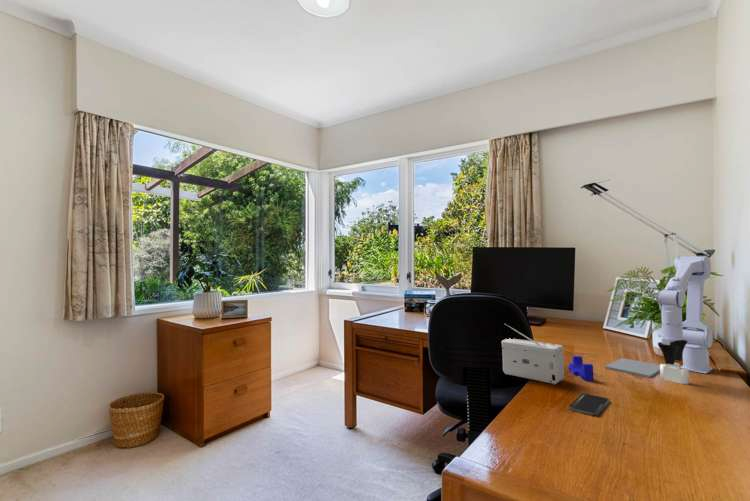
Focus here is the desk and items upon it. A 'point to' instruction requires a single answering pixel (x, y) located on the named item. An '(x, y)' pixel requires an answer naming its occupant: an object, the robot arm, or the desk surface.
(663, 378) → the connector plug
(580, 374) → the blue notched block
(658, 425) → the desk surface
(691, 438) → the desk surface
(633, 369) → the desk mat
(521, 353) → the stereo radio cassette player
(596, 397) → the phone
